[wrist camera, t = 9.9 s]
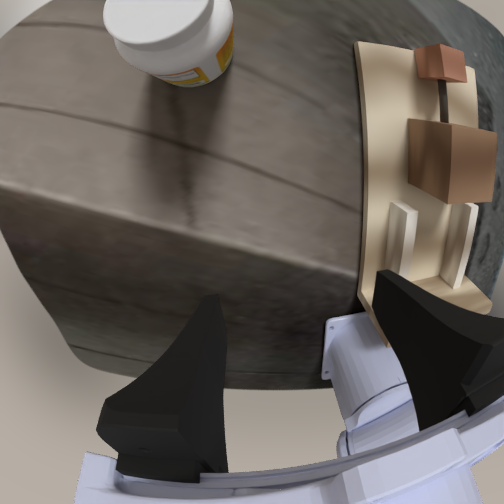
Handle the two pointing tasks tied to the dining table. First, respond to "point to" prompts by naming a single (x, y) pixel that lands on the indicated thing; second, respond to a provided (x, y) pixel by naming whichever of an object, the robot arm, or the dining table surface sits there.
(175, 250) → the dining table surface
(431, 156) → the walnut block
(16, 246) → the dining table surface
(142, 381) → the robot arm
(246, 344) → the dining table surface
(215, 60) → the supplement bottle
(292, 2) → the dining table surface
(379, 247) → the shelf lane
